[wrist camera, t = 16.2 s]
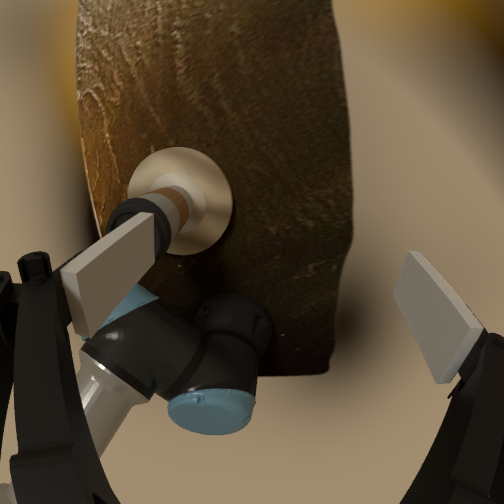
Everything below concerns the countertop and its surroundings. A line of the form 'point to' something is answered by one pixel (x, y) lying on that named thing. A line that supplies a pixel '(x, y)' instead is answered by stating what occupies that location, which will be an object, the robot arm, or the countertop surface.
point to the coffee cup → (157, 214)
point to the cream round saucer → (197, 185)
